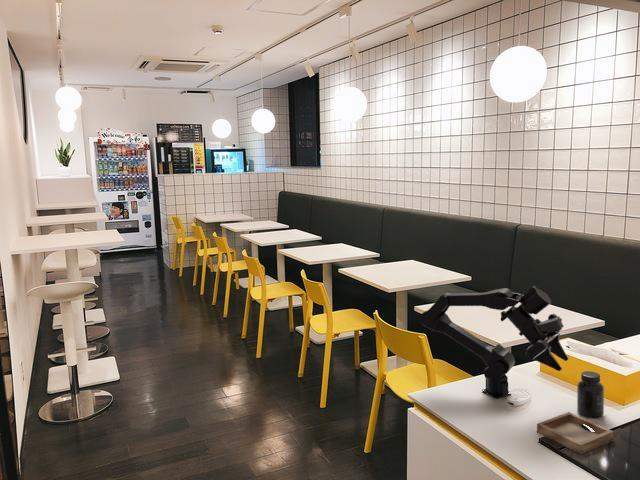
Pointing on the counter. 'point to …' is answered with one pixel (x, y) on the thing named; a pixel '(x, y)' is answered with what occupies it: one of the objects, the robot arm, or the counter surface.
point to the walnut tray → (574, 432)
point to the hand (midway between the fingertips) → (564, 365)
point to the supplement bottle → (590, 395)
